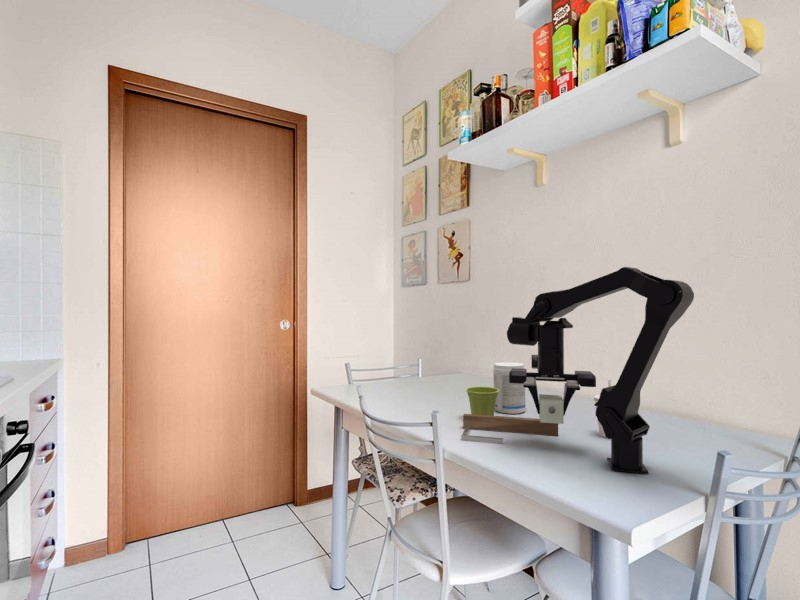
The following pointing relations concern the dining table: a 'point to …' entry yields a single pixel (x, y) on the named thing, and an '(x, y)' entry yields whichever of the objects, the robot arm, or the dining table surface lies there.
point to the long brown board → (509, 424)
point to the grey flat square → (479, 437)
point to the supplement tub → (508, 389)
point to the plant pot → (482, 400)
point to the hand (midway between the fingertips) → (551, 414)
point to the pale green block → (551, 409)
